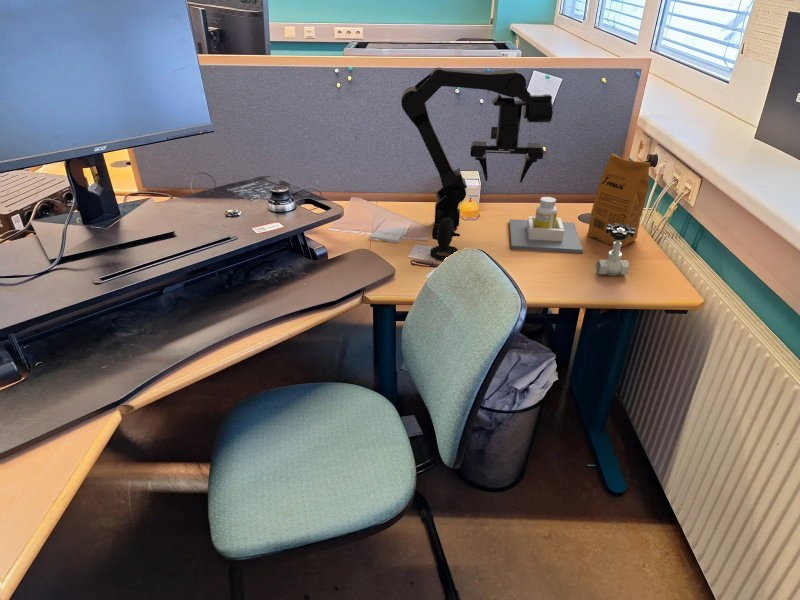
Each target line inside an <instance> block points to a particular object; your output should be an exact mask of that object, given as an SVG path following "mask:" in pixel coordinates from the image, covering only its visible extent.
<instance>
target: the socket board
mask: <svg viewBox="0 0 800 600" xmlns="http://www.w3.org/2000/svg"><path fill="white" fill-rule="evenodd" d="M535 217H536V216H530V215H528V217H527V219H514V218H513V219H512V218H509V235H510V248H511V250H521V251H522V250H523V251H536V252H537V251H538V252H539V251H540V252H542V251H543V252H554V253H555V252H556V253H569V254H571V253H572V254H583V252H584V248H583V245H582V242H581V239H580V237H579V233H578V231H577V226H576V224H575V222H571V221H570V222H569V221H562V218H561V217H556V223H555V229H551V228H534V225H535Z"/></svg>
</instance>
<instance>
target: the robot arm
mask: <svg viewBox="0 0 800 600" xmlns="http://www.w3.org/2000/svg"><path fill="white" fill-rule="evenodd" d="M526 79H527V78H526V77H525V76H524V75H523V74H522V73H521V72H520V71H519V70H518V69H514V68H509V69H508V68H507V69H499V70H495V71H489V72H484V71H474V70H463V69H461V70H460V69H452V68H451V69H450V68H443V67H435V68H433V70H432V71H431V72H430V73H429V74H427V75H426V76H425V77H423V79H421V80H420V81H419V82H417V83H416V84H415V85H414V86H409V87H407V88H406V89H405V88H404V90H403V91H402V94H401V99H400V100H401V102H400V105H401V107H402V110H403V111H404V113H405V114H406V116H407V117H408V119H410V121H411V122H412V123H413V124H414V126H415V127H416V128H417V130H418V133H419V135H420V136H421V139H422V141H423V143H424V145H425V147H426V149H427V150H428V153H429V156H430V158H431V159H432V162H433V164H434V166H435V168H436V170H437V173H438V174H439V178H440V183H441V185H442V187H441V188H440V189H439V190H437V192H435V198H436V202H435V204H434V205H435V206H434V224H435V223H437V224H440V223H441V221H442V220H443V219H444V218H451V219H452V221H453V226H454V231H457V229H458V227H459V226H460V220H461V219H460V218H461V217H460V216H461V213H460V212H461V209H460V208H459V205H460V203H462V202H463V201H464V200H465V198H466V196H467V190H466V189H467V188H468V185H467V182H466V179H465V178H464V177H463V175H462V172H461V169H460V167H458V168H456V169H455V168H454V167H453V166H452V165H451V162H450V160H449V159H448V156H447V153H446V151H445V149H444V148H443V145H442V144H441V140H440V139H439V137H438V134H437V132H436V130H435V127H434V126H433V124H432V121H431V119H430V116H429V111H428V109H427V108H428V107H427V104H426V103H427V101H429V100H430V99H431V97H433V95H435V93H436V92H437V91H438V90H439V89H440V88H442V87H449V88H462V89H472V90H473V89H474V90H487V91H491V92H493V93H496V94H497V95H496V96H495V98H493V99H492V100H491V104H492V105H493V106H495V107H496V106H497V107H498V106H499V107H498V116H497V126H491V130H490V140H495V145H487V141H484V140H482V141H481V140H478V141H477V140H474V141H472V142H471V144H470V157H472V158H474V160H475V161H478V162H479V165H480V167H481V168H482V172H483V175H484V176H483V177H484V181H485V182H488V174H489V173H488V160H487V159H488V157H487V154H505V155H506V154H507V155H510V154H511V155H524V158H523V164H522V167H521V172H520V177H519V183H523V180H524V178H526V175H527V173H528V170H529V169H530V167H531V166H533V164H534V163H538V160H543V157H544V147H543V144H542V143H541V142H540V143H537V142H527V145H526V146H519V140H520V128H521V120H522V119H523V120H525V121H526V123H527V124H549V123H551V122H552V118H553V114H554V113H553V112H554V110H553V101H552V100H553V96H552V95H551V94H541V95H538V94H537V95H531V93H530V91H528V90H527V88H526V87H527V80H526ZM501 95H503V96H505V97H502V96H501ZM515 98H518V99H519V100H515Z"/></svg>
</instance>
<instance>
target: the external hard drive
mask: <svg viewBox="0 0 800 600" xmlns="http://www.w3.org/2000/svg"><path fill="white" fill-rule="evenodd" d="M406 229H407V228H406V227H402V228H390V229H386V230H377V231H375V230H374V231H375V232H374V231H373V232H372V234H371V235H370V236H369V239H370V238H371V239H378V240H384V241H383V242H386V241H389V242H388V243H392V242H396V243H395V244H400V242H401V241H402V239H403V238H402V236H403V235H404V233H405V231H406ZM404 236H405V235H404ZM404 236H403V237H404ZM401 238H402V239H401ZM399 241H400V242H399Z"/></svg>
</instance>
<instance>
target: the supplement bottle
mask: <svg viewBox="0 0 800 600" xmlns="http://www.w3.org/2000/svg"><path fill="white" fill-rule="evenodd" d="M556 203H557V199H556V198H555V197H552V196H542V197H541V198H540V199H539V205H537V206H536V211H535V216H534V217H535V225H534V228H551V229H555V223H556V218H557V215H558V208H557V207H556Z"/></svg>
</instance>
